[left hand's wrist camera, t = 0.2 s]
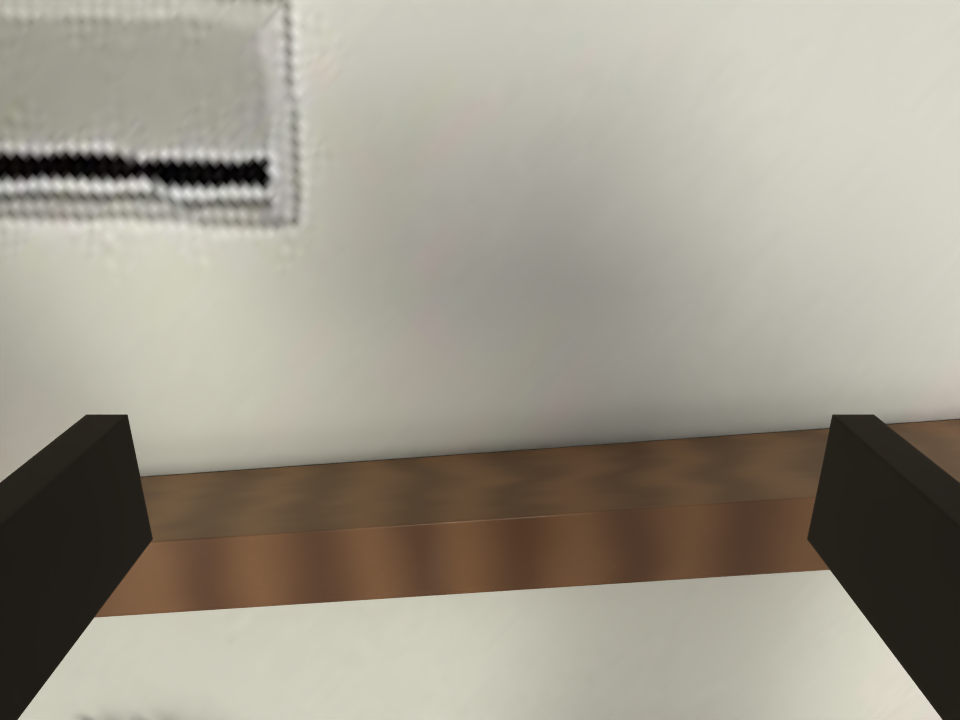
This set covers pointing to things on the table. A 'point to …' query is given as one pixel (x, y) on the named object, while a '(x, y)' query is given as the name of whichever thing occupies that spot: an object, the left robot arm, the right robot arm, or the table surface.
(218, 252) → the table surface
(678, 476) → the bar
